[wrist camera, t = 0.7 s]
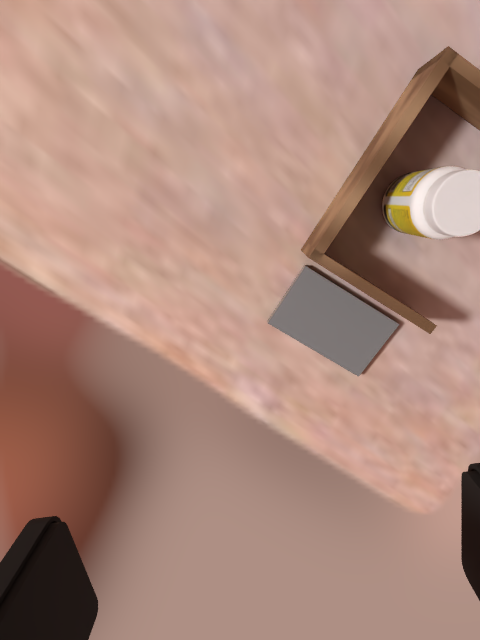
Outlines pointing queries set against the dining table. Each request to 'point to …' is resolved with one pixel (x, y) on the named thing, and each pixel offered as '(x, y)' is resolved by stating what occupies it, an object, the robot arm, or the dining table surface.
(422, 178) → the supplement bottle
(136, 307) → the dining table surface
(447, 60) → the walnut bay
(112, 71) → the dining table surface
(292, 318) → the slate coaster
